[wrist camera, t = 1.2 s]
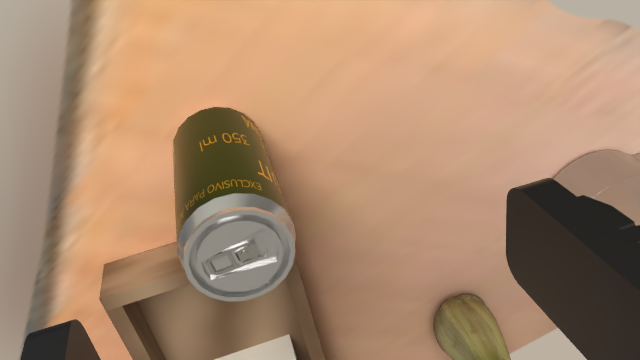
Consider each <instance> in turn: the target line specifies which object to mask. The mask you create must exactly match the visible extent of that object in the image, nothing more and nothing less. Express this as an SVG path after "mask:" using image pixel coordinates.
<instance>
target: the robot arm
mask: <svg viewBox="0 0 640 360" xmlns="http://www.w3.org/2000/svg"><path fill="white" fill-rule="evenodd" d="M506 257H507V262H508V265H509V268H510V270H511V272H512V275H513V276H514V278H515V280H516V281H517V283H518V284H519V285H520V286H521V287H522V288H523V289H524V290H525V292H526V293H527V294H528V295H529V296H530V297H531V298H532V299H533V300H534V301H535V303H536V304H537V305H538V306H539V307H540V308H541V309H542V310H543V311H544V312H545V314H546V315H547V316H548V317H549V318H550V319H551V320H552V321H553V322H554V323H555V325H556V326H557V327H558V328H559V329H560V330H561V331H562V332H563V333H564V334H565V335H566V337H567V338H568V339H569V340H570V341H571V342H572V343H573V344H574V345H575V347H576V348H577V349H578V350H579V351H580V352H581V353H582V354H583V355H584V357H585V358H586V359H587V360H640V154H637V155H632V156H631V155H627V154H625V153H623V152H620V151H615V150H603V151H596V152H593V153H590V154H587V155H585V156H583V157H581V158H579V159H577V160H575V161H573V162H572V163H571V164H569V165H568V166H566V167H565V168H564V169H563V170H562V171H561V172H560V173H559V174H557V175H556V176H555V177H554V179H551V178H546V179H542V180H539V181H536V182H532V183H529V184H526V185H522V186H519V187H516V188H512V189H511V190H510V191H509V192H508V195H507V215H506ZM21 360H101V359H100V357H99V355H98V354H97V352H96V350H95V348H94V346H93V344H92V342H91V340H90V338H89V336H88V334H87V333H86V331H85V329H84V327H83V325H82V324H81V323H80V322H79V321H78V320H71V321H68V322H65V323H61V324H58V325H55V326H51V327H48V328H45V329H41V330H38V331H35V332H32V333H29V334H28V336H27V337H26V340H25V343H24V348H23V352H22V356H21Z"/></svg>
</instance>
